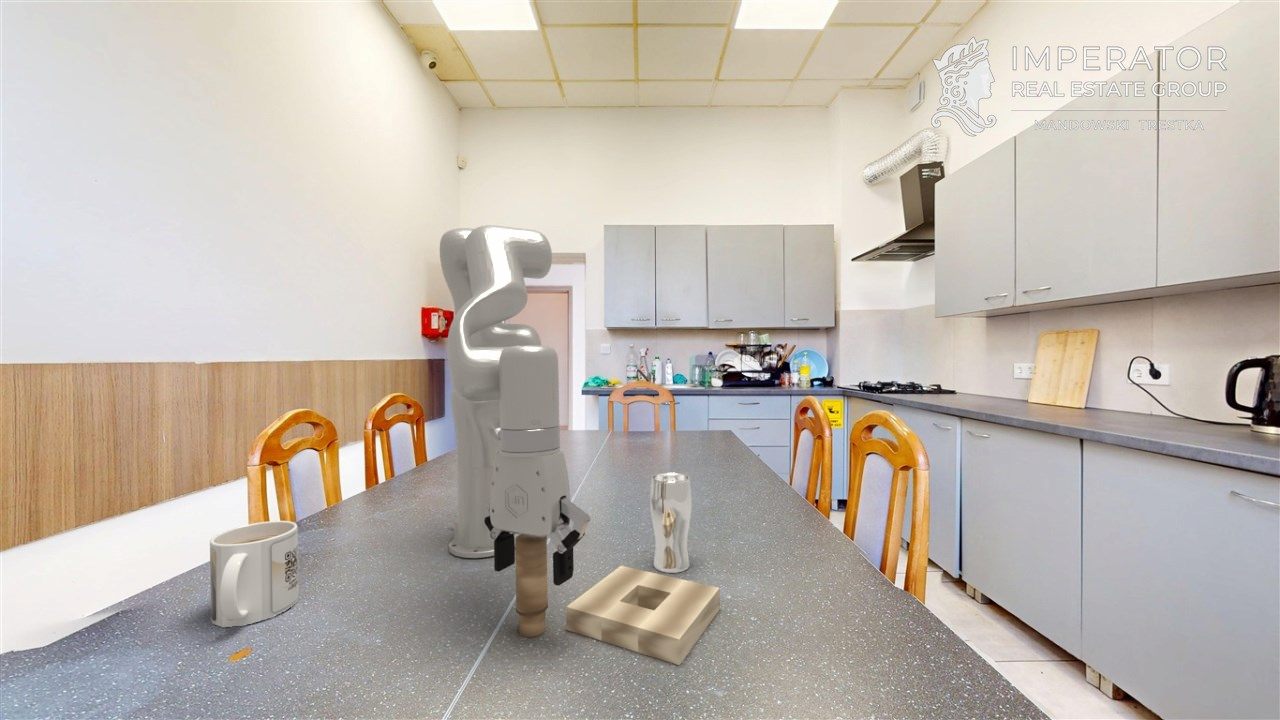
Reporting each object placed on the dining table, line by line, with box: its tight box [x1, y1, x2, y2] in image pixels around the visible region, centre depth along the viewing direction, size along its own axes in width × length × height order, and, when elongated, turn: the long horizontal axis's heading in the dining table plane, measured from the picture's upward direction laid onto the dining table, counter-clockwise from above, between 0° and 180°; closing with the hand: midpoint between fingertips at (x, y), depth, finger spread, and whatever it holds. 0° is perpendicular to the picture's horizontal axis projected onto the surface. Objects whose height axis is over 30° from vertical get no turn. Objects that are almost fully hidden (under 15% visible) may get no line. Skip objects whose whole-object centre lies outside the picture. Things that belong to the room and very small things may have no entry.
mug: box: [209, 520, 300, 628], centre depth 68 cm, size 10×12×11 cm
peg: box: [515, 534, 549, 638], centre depth 64 cm, size 4×4×12 cm
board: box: [565, 565, 721, 666], centre depth 66 cm, size 16×14×3 cm
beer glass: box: [649, 472, 692, 574], centre depth 83 cm, size 7×7×15 cm
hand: (533, 574), depth 63 cm, fingers open, 9 cm apart
